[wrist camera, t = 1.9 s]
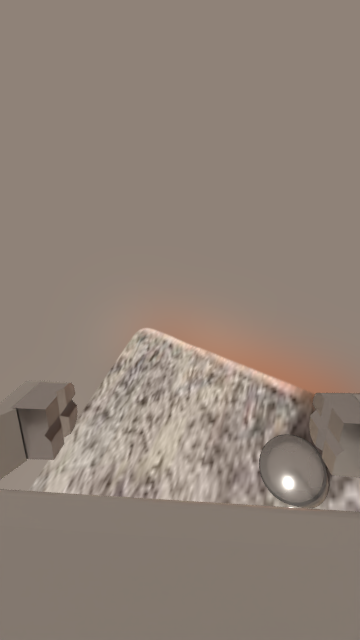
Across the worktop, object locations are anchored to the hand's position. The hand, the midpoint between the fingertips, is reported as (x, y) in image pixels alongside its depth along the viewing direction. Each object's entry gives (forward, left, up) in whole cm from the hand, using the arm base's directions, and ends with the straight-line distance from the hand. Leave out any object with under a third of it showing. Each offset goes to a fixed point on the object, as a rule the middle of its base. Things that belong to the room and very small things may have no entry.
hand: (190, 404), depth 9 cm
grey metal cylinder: (-1, 0, -26) cm, 26 cm away
